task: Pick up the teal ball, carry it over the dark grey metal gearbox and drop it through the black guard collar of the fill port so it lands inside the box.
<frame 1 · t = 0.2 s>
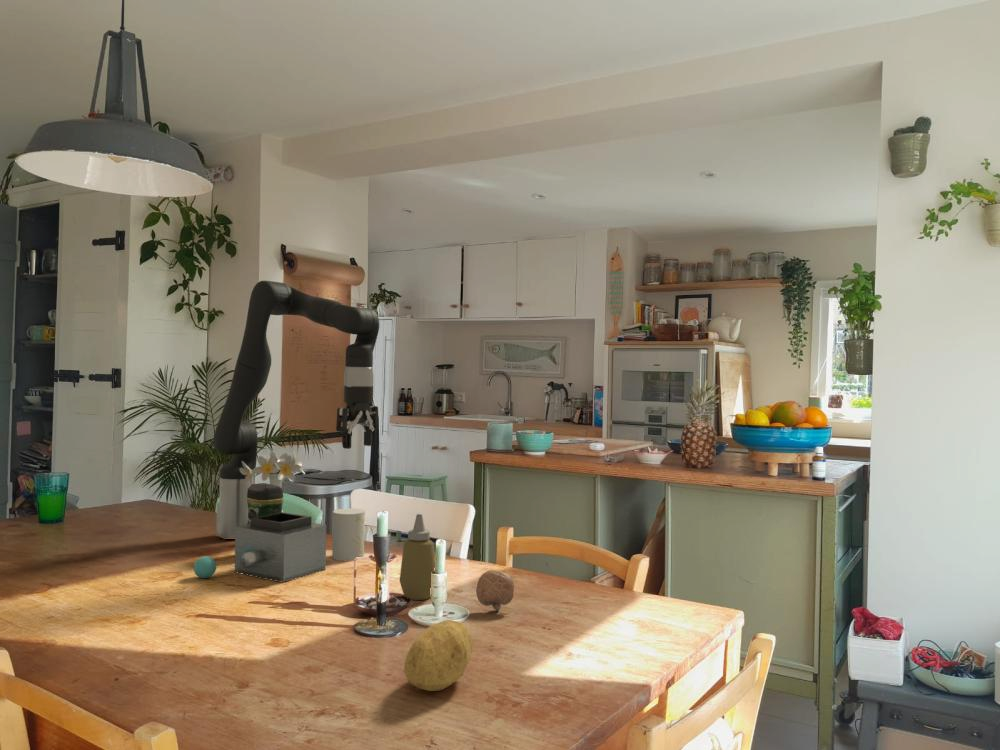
hand: (357, 447, 204), 29 cm above the table, tool pointing down, fingers open, 8 cm apart
potato: (435, 686, 124), on the table
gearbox: (280, 571, 190), on the table
squeeze bottle: (417, 597, 171), on the table
mushroom: (495, 611, 162), on the table
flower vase: (273, 541, 223), on the table
grey cylinder: (348, 557, 205), on the table
coffee jar: (264, 554, 207), on the table
teal ball: (204, 577, 183), on the table
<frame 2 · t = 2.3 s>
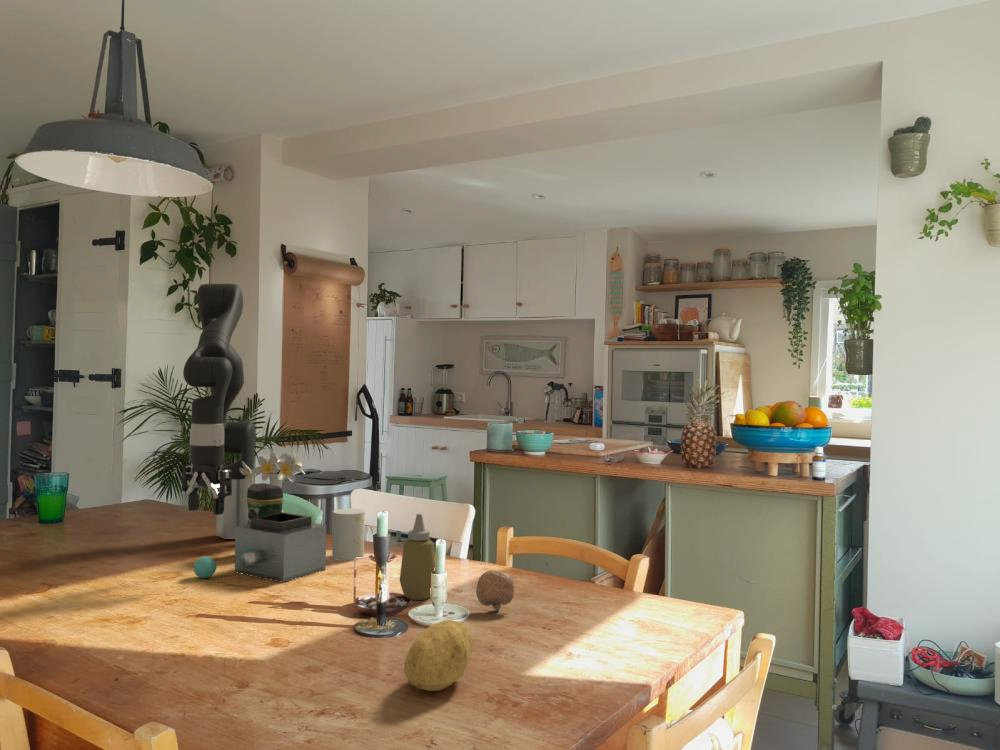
hand: (205, 512, 183), 15 cm above the table, tool pointing down, fingers open, 8 cm apart
nothing on the table moved.
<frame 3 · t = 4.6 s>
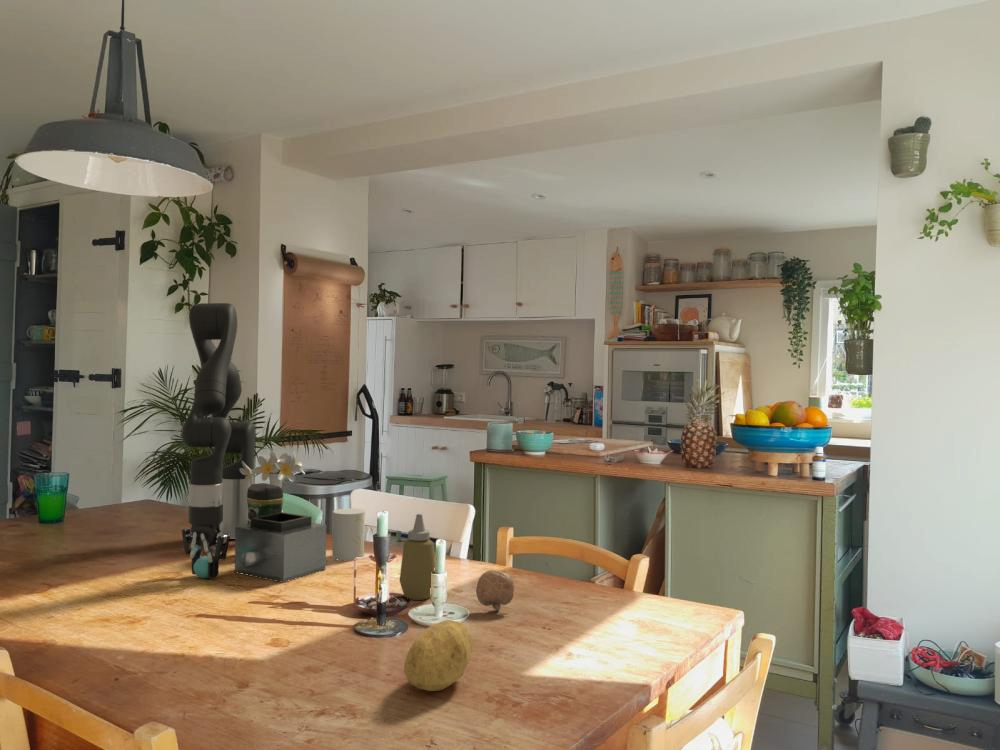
hand: (204, 575, 183), 1 cm above the table, tool pointing down, fingers closed on teal ball, 5 cm apart
teal ball: (204, 577, 183), on the table, touching gripper
everything else where it was.
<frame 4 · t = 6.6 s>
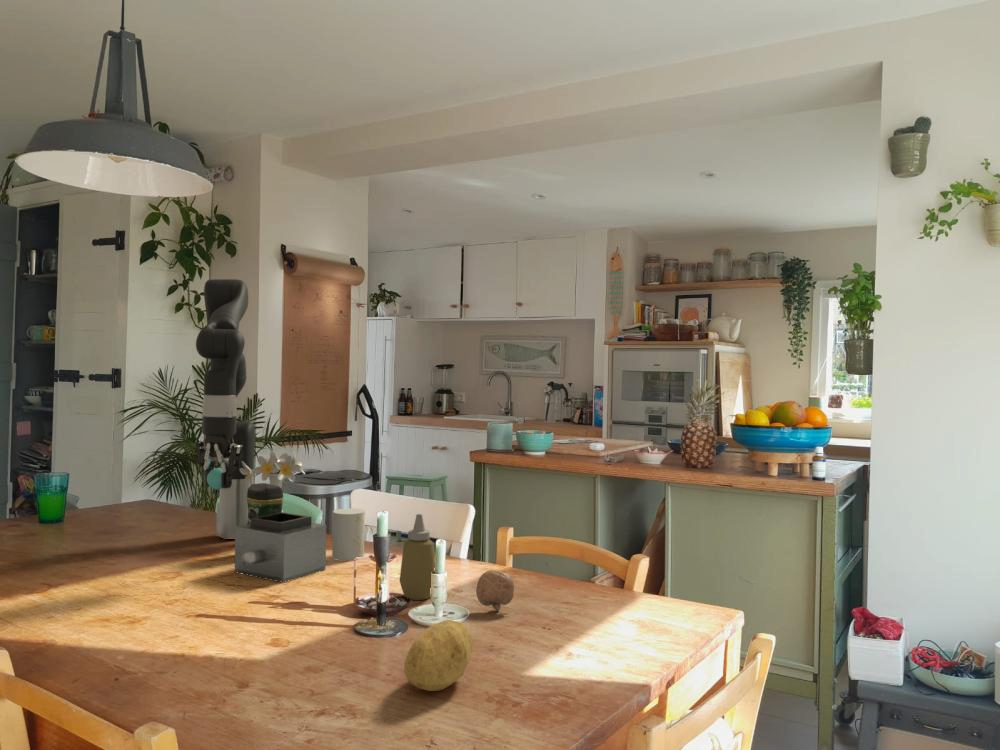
hand: (218, 486, 184), 21 cm above the table, tool pointing down, fingers closed on teal ball, 5 cm apart
teal ball: (218, 489, 184), point 21 cm above the table, touching gripper
everything else where it was.
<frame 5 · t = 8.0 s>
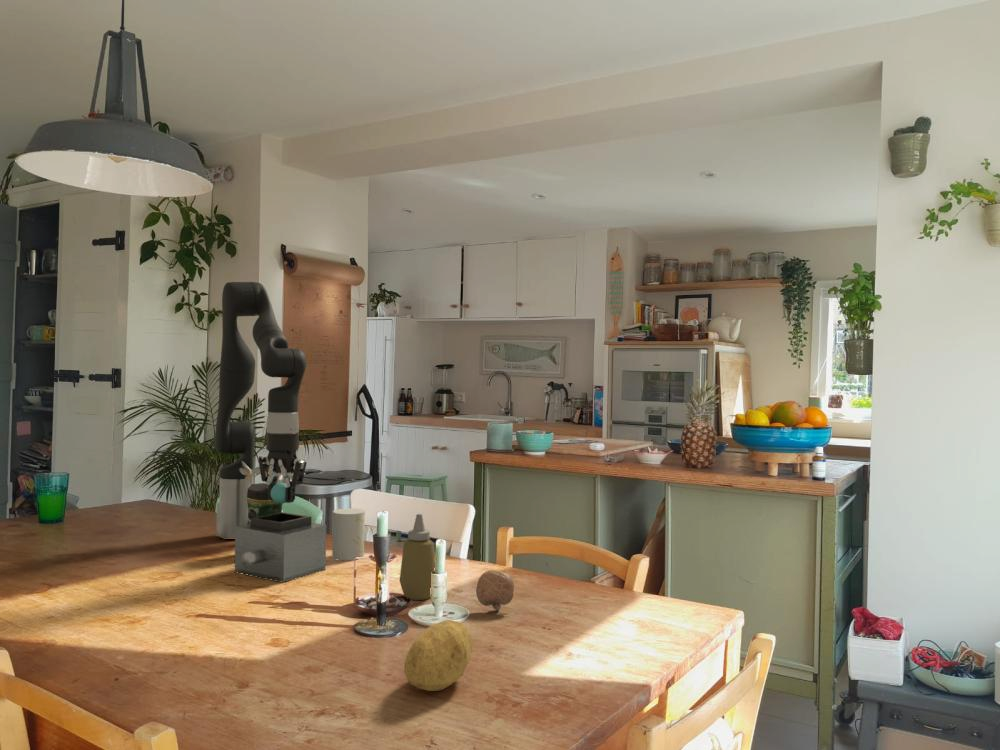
hand: (281, 500, 190), 17 cm above the table, tool pointing down, fingers closed on teal ball, 5 cm apart
teal ball: (281, 503, 190), point 16 cm above the table, touching gripper
everything else where it was.
when the fingers open (14 cm above the table, at t = 8.9 s): teal ball drops 12 cm, resting on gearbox.
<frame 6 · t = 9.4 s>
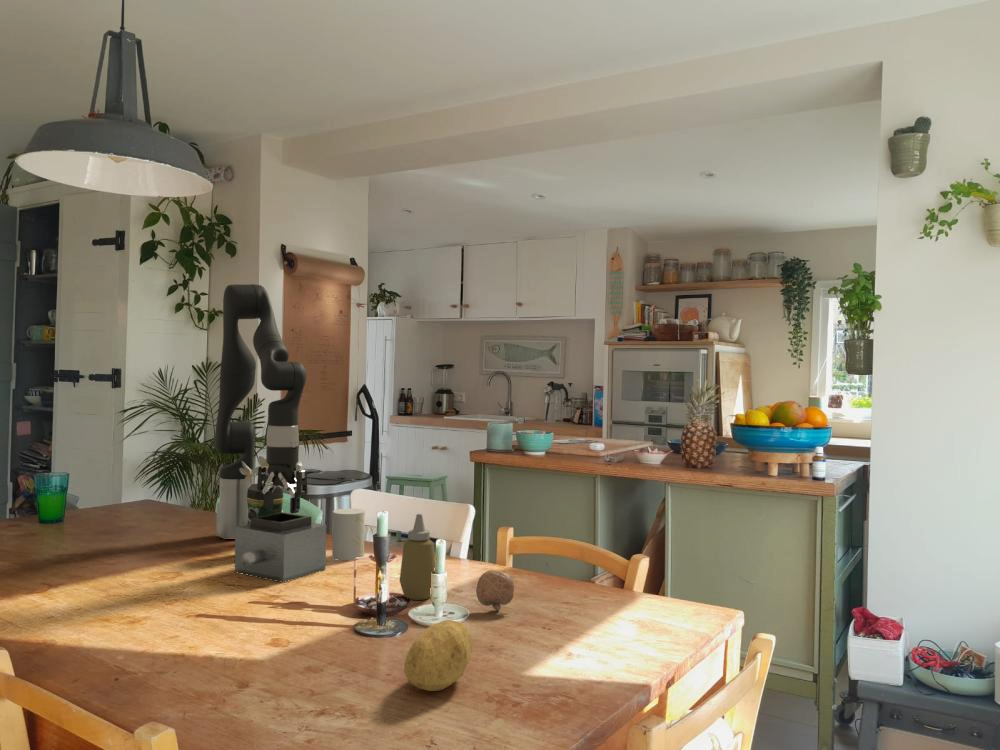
hand: (281, 510, 190), 15 cm above the table, tool pointing down, fingers open, 8 cm apart
teal ball: (280, 567, 190), point 1 cm above the table, touching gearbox
everything else where it was.
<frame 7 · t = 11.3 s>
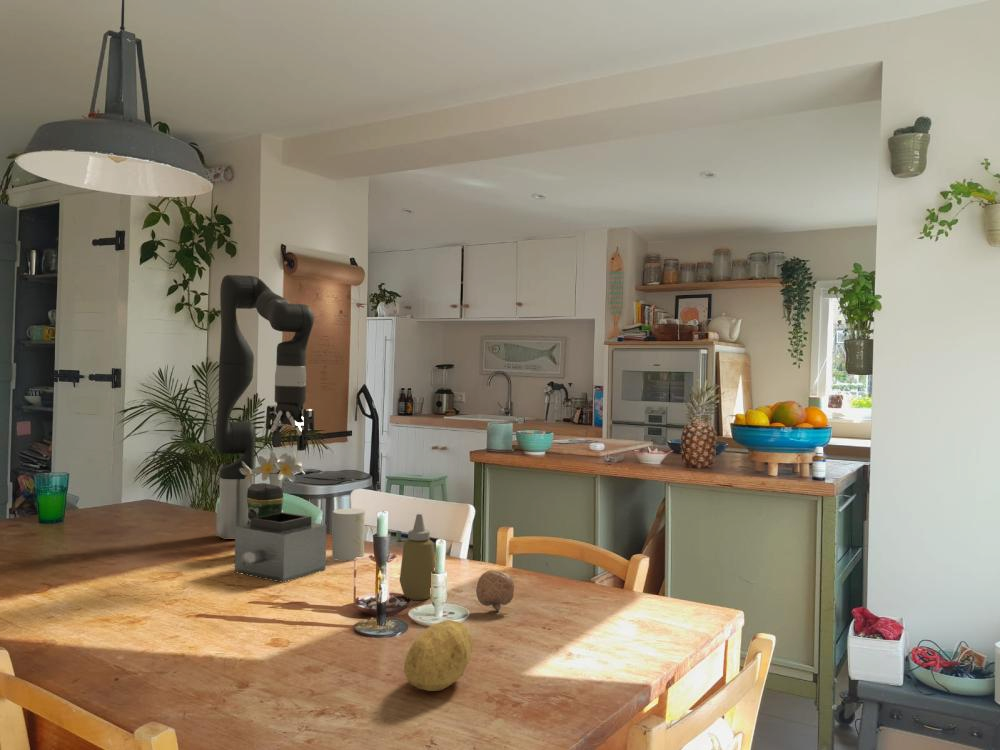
hand: (289, 448, 196), 29 cm above the table, tool pointing down, fingers open, 8 cm apart
nothing on the table moved.
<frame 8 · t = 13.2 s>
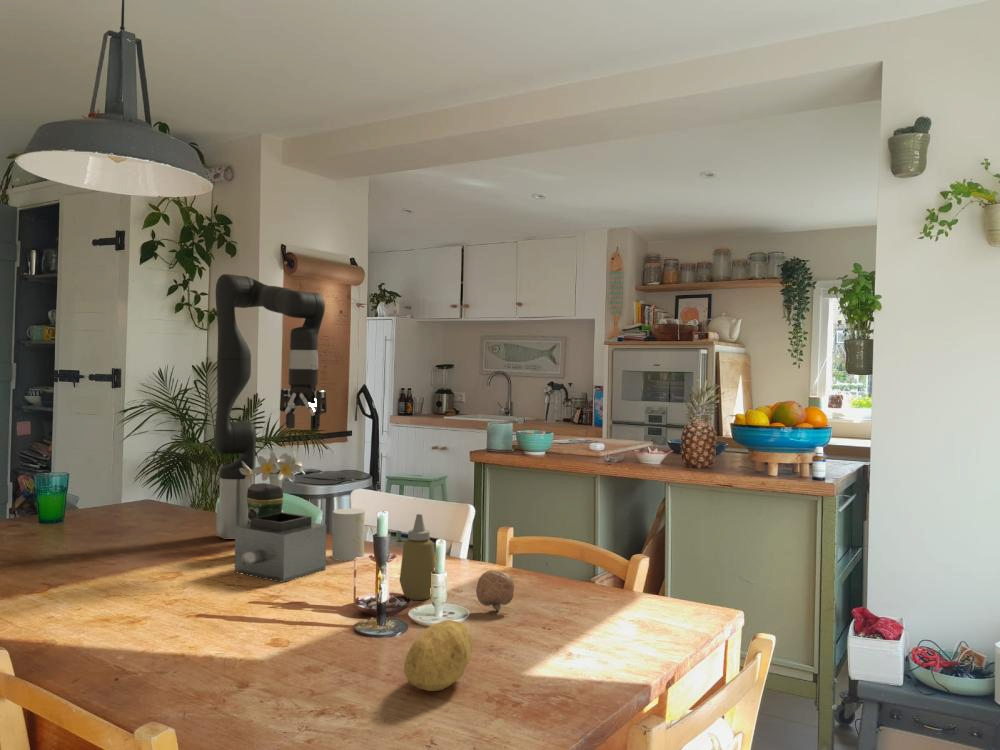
hand: (302, 429, 207), 33 cm above the table, tool pointing down, fingers open, 8 cm apart
nothing on the table moved.
at the end: teal ball inside the target area on the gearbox (0.0 cm from its centre), point 1.0 cm above the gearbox's base; the gripper is holding nothing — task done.
